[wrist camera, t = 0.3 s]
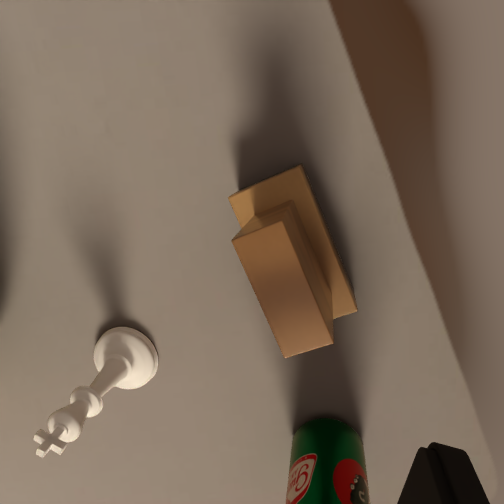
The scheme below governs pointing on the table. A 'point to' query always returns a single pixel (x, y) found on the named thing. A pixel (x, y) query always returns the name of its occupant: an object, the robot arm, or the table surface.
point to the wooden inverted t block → (292, 260)
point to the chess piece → (101, 384)
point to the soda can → (327, 465)
